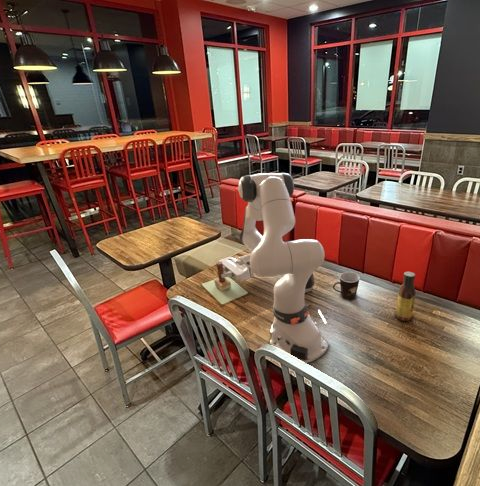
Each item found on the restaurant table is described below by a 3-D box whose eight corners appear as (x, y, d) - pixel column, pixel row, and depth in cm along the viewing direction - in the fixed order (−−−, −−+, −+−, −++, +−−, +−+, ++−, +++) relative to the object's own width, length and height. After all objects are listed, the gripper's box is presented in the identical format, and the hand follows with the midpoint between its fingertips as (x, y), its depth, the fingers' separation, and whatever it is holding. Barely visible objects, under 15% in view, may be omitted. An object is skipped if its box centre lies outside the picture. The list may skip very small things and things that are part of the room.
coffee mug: (356, 290, 144) (358, 272, 140) (359, 301, 136) (361, 282, 132) (331, 290, 145) (332, 271, 141) (332, 301, 137) (333, 282, 133)
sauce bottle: (413, 322, 122) (420, 279, 114) (396, 321, 124) (402, 278, 115) (410, 312, 128) (417, 270, 120) (394, 311, 129) (400, 269, 121)
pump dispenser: (315, 295, 142) (315, 266, 135) (292, 296, 142) (292, 267, 136) (313, 283, 151) (313, 255, 145) (292, 284, 152) (291, 256, 145)
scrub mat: (248, 294, 146) (248, 293, 145) (221, 305, 138) (221, 304, 138) (226, 275, 162) (226, 274, 162) (201, 285, 155) (201, 284, 154)
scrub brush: (231, 287, 150) (227, 263, 144) (222, 291, 147) (218, 267, 141) (223, 281, 155) (220, 258, 149) (215, 285, 152) (211, 262, 146)
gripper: (233, 251, 161) (208, 260, 154) (254, 266, 146) (228, 276, 139) (234, 262, 164) (210, 271, 156) (255, 278, 148) (230, 288, 141)
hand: (219, 274), depth 147 cm, fingers closed on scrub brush, 3 cm apart
